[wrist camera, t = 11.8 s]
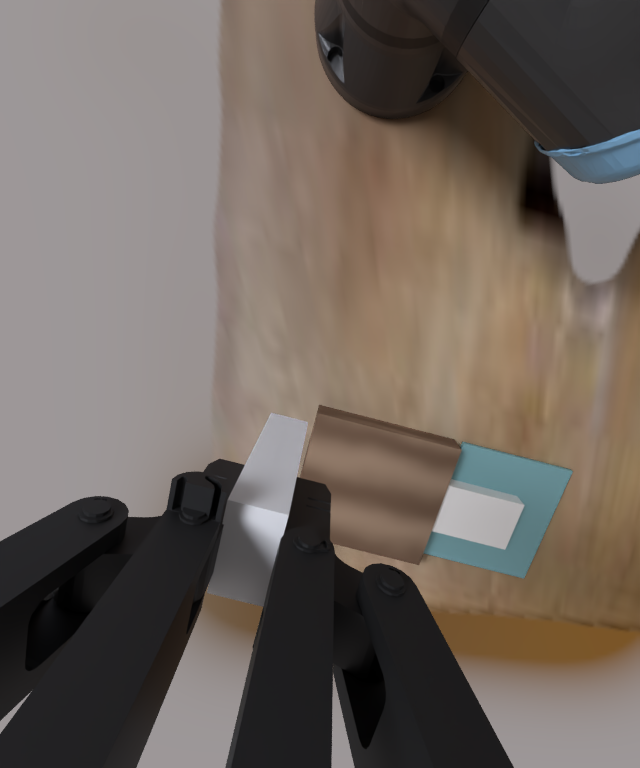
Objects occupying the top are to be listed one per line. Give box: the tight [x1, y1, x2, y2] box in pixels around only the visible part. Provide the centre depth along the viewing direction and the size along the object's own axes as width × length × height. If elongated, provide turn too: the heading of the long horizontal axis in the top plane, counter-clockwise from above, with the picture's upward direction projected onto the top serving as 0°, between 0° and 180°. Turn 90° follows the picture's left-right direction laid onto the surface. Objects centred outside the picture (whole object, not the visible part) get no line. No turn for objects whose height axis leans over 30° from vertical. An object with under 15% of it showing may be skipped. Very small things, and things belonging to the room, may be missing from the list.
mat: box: [424, 442, 573, 578], centre depth 49 cm, size 15×13×1 cm
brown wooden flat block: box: [300, 405, 462, 565], centre depth 47 cm, size 15×16×3 cm
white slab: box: [432, 479, 524, 550], centre depth 47 cm, size 6×9×2 cm, turn 76°
